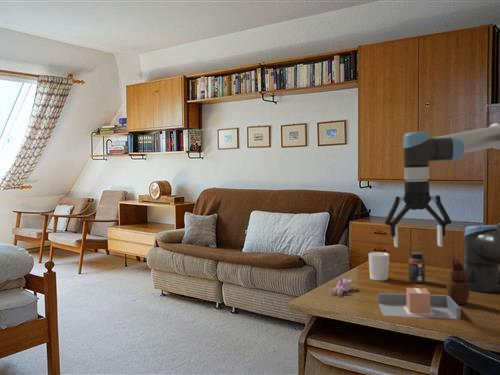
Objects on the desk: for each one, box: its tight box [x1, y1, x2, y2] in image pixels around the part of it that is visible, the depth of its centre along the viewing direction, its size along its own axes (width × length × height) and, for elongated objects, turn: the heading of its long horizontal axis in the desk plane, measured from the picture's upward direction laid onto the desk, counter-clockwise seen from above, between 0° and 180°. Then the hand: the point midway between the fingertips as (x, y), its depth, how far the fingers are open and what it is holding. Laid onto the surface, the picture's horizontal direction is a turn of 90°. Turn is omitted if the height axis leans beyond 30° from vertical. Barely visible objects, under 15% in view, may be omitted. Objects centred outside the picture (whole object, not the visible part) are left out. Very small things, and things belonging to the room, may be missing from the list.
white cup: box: [368, 251, 390, 282], centre depth 179 cm, size 8×8×10 cm
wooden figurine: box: [446, 257, 471, 305], centre depth 147 cm, size 7×6×15 cm
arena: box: [377, 292, 462, 320], centre depth 139 cm, size 22×13×4 cm, turn 80°
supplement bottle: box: [408, 251, 426, 284], centre depth 174 cm, size 6×6×11 cm
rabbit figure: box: [330, 277, 353, 297], centre depth 161 cm, size 6×6×15 cm
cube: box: [405, 287, 431, 313], centre depth 140 cm, size 6×6×6 cm
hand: (417, 246), depth 144 cm, fingers open, 13 cm apart
